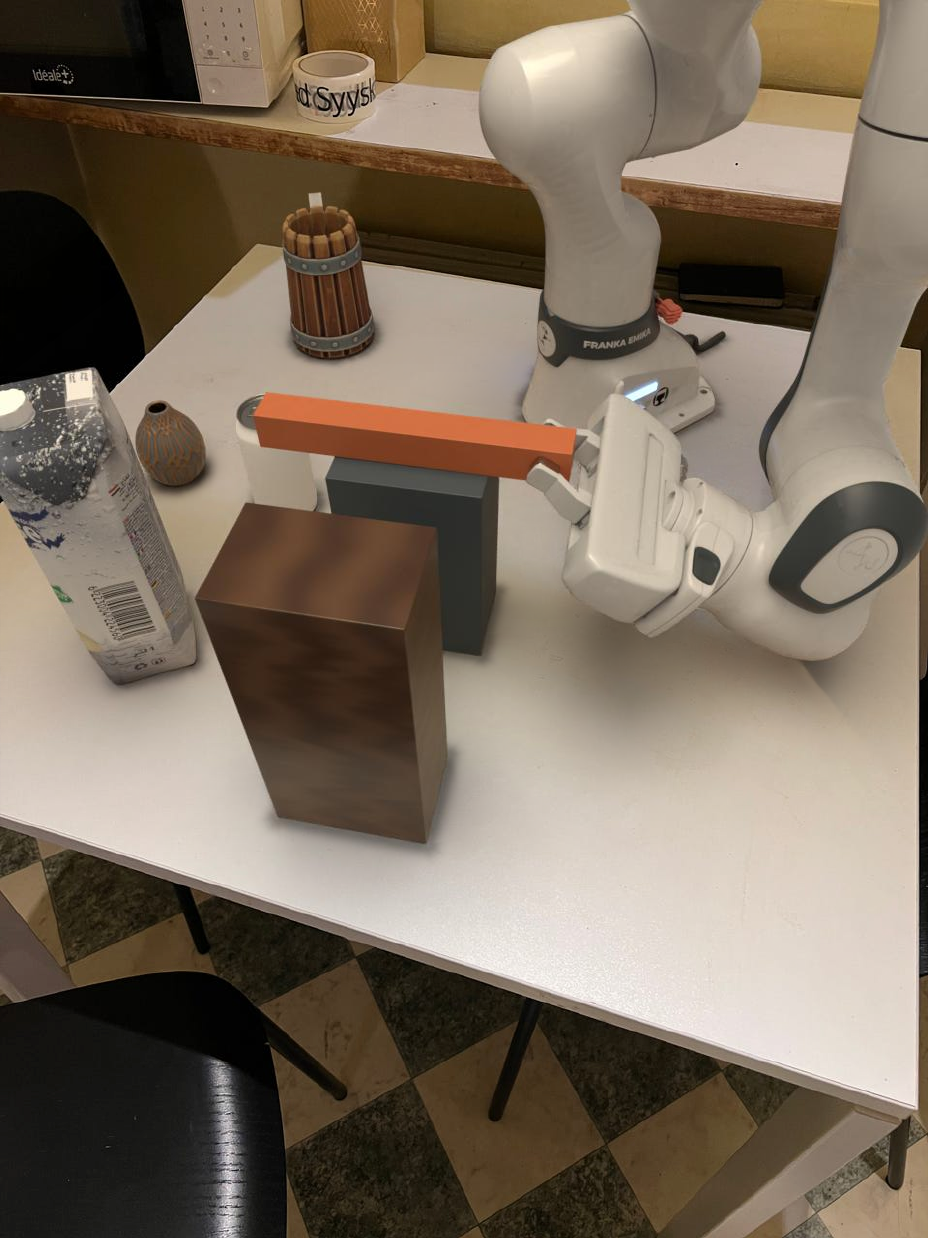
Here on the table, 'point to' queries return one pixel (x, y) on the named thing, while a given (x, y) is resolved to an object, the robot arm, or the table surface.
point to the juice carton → (94, 523)
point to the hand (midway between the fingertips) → (535, 448)
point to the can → (274, 466)
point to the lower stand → (462, 531)
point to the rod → (410, 436)
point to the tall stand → (335, 664)
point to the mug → (326, 282)
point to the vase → (169, 445)
